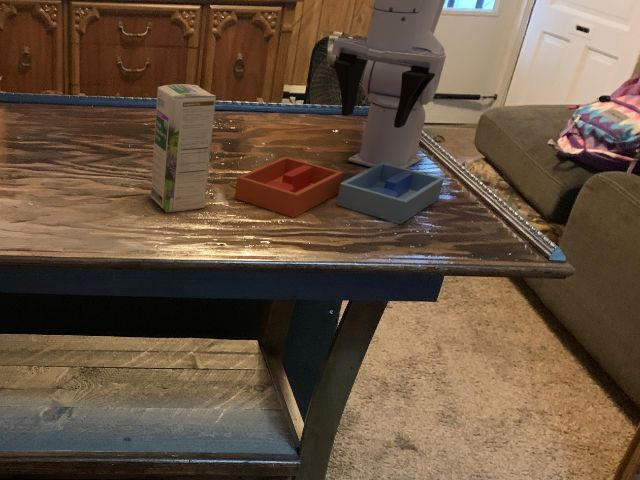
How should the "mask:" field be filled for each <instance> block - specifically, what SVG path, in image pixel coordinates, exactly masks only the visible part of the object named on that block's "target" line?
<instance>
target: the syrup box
mask: <svg viewBox="0 0 640 480" xmlns="http://www.w3.org/2000/svg"><path fill="white" fill-rule="evenodd" d="M156 90H157V91H156V92H157V94H156V110H155V121H154V122H155V125H154V137H153V138H154V139H153V141H154V142H153V150H152V151H153V153H152V169H151V184H150V185H151V187H150V199H151V200H153V201H154V202H155V203H156V204H157V205H158V206H159V207H160V208H161V209H162V210H163V211H164V212H165V213H174V212H183V211H191V210H198V209H205V208H206V207H205V205H206V198H207V197H206V196H207V187H208V177H209V167H210V158H211V147H212V138H213V129H214V120H215V109H216V101H217V100H216V99H217V97H216V96H217V95H215V94H212V93H210V92H209V91H207V90H206V89H204V88H201V87H200V86H199V85H198V84H188V83H187V84H186V83H175V84H166V85H161V86H158V87H157V89H156Z"/></svg>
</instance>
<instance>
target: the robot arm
mask: <svg viewBox="0 0 640 480" xmlns="http://www.w3.org/2000/svg"><path fill="white" fill-rule="evenodd" d="M445 3H446V0H374V1H373V7H372V12H371V17H370V22H369V27H368V32H367V37H366V40H363V39H355V38H354V39H353V38H347V37H346V38H345V37H338V38H335V39H334V40H333V45H332V51H331V55H332V56H335V57H336V56H337V57H338V58H337V59H335V60H334V61H333V68H334V71H335V73H336V77H337V80H338V84H339V85H338V86H339V90H340V91H339V92H340V100H341V101H340V102H341V116H345V117H347V116H349V115H352V114H354V110H355V107H356V103H357V98H358V92H359V87H360V85H361V84H360V83H361V80H362V90H363V92H364V95H365V96H367V102H368V103H369V108H368V113H367V116H366V117H367V118H366V123H365V126H364V132H363V136H362V140H361V141H362V142H361V146H360V150H359V151H360V152H358V153H356V154H354V155H352V156H350V157H349V158H348V162H350V163H354V164H358V165H361V166H365V167H369V168H371V167H373V166H375V165H377V164H379V163H381V162H383V163H387V164H391V165H394V166H398V167H402V168H406V169H408V168H410V167H411V166H413V165H414V164H417V163H418V162H420V161H421V160H423V159H422V158H423V157H422V156H421V155H417V154H418V149H419V145H420V142H421V139H422V134H423V130H424V127H425V121H426V111H425V110H426V109H425V108H424V106H427V105H428V104H430V103H431V102H432V101H433V99H434V97H435V95H436V93H437V90H438V87H439V84H440V81H441V76H442V72H443V70H444V65H445V61H446V59H447V56H446V53H445V47H444V45H443V44H442V43H441V41H440V40H439V39H438V38H437V37H436V36H435V31H436V28H437V25H438V22H439V20H440V17H441V15H442V11H443V9H444V6H445ZM362 76H363V77H362Z"/></svg>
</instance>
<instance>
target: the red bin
mask: <svg viewBox="0 0 640 480" xmlns="http://www.w3.org/2000/svg"><path fill="white" fill-rule="evenodd" d="M303 165H307V166H311V167H313V169H312V175H311V181H310V185H309V186H307V187H305V188H303V189H301V190H299V191H297V192H295V193H293V192H290V191H287V190H284V189H280V188H277V187H274V186H270V185H267V184H266V183H268V182H272V181H280V182H282V179H283V174H285V173H287V172H289V171H292V170H294V169H296V168H298V167H300V166H303ZM343 174H344V172H343V171H339V170H335V169H332V168H328V167H326V166H322V165H318V164H315V163H310V162H307V161H304V160H300V159H295V158H292V157H289V156H285V155H284V156H283V157H281V158H279V159H276V160H274V161H271V162H268V163H267V164H264V165H262V166H260V167H257V168H255V169H253V170H251V171H248V172H246V173H243V174H241V175H239V176H237V177H236V184H235V185H236V186H235V195H234V199H235V200H238V201H241V202H245V203H248V204H250V205H253V206H257V207H260V208H263V209H266V210H269V211H272V212H275V213H278V214H281V215H284V216H288V217H290V218H296V217H297V216H299V215H302V214H303V213H305V212H306V211H308V210H310V209H312V208H315V207H316V206H318V205H319V204H320V205H321V203H322V204H323V202H325V201H327V200H329V199H331V198H333V197H334V196H335V197H336V195H337V196H338V194H339V189H340V184H341V183H342V179H343Z"/></svg>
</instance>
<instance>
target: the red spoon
mask: <svg viewBox="0 0 640 480" xmlns="http://www.w3.org/2000/svg"><path fill="white" fill-rule="evenodd" d="M312 169H313V167H311V166H307V165H303V166H300V167H298V168H296V169H294V170H292V171H289V172H287V173H285V174H283V179H282V182H280V181H272V182H268V183H266V184H267V185H270V186H274V187H277V188H280V189H284V190H287V191H290V192H293V193H295V192H297V191H299V190H301V189H303V188H305V187H307V186H309V185H310V181H311V175H312Z"/></svg>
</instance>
